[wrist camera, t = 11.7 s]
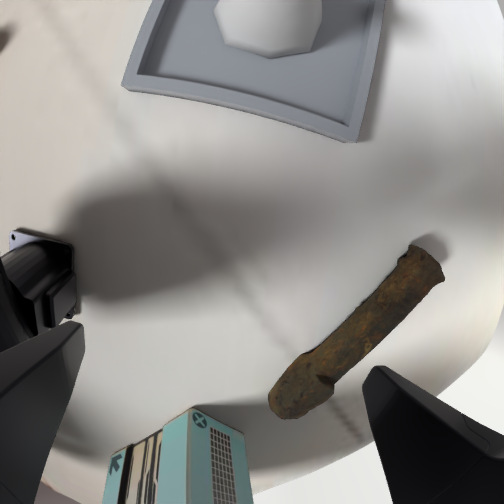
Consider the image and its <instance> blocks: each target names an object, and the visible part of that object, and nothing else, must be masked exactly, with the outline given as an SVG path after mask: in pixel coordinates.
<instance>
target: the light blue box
mask: <svg viewBox="0 0 504 504" xmlns="http://www.w3.org/2000/svg"><path fill="white" fill-rule="evenodd" d="M102 504H254V503H253V497H252V490H251V483H250V476H249V470H248V463H247V456H246V449H245V441H244V434H242V433H240V432H238V431H236V430H234V429H232V428H230V427H228V426H226V425H224V424H222V423H220V422H218V421H216V420H214V419H213V418H211V417H209V416H207V415H205V414H203V413H202V412H200V411H198V410H196V409H194V408H191V409H189V410H187V411H186V412H184V413H182V414H181V415H179V416H178V417H176V418H175V419H173V420H171V421H170V422H168V423H167V424H165V425H164V426H163V428H162V429H160V430H158V431H157V432H155V433H153V434H152V435H150V436H148V437H147V438H145V439H143V440H141V441H140V442H138V443H136V444H134V445H133V446H128V447H126V448H124V449H122V450H120V451H118V452H117V453H115V454H113V455H112V456H111V459H110V464H109V469H108V474H107V479H106V484H105V489H104V495H103V501H102Z"/></svg>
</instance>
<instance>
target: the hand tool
mask: <svg viewBox="0 0 504 504" xmlns="http://www.w3.org/2000/svg"><path fill="white" fill-rule="evenodd" d="M441 269H442V268H441V266H440V264H439V263H438V262H437V261H436V260H435V259H434V258H433V257H432V256H431V255H430V254H428V253H427V252H426V251H425V250H423V249H422V248H419V247H417V246H414V245H409V249H408V253H407V255H406V257H402V258H400V259H398V260H397V267H396V269H395V270H394V271H393V272H392V273H391V274H390V276H389V277H388V278H387V279H386V280H385V281H384V282H383V283H382V284H381V285H380V287H379V288H378V289H377V290H376V291H375V292H374V293H373V294H372V295H371V297H370V298H369V299H368V300H367V301H366V302H365V303H364V304H363V305H361V306H359V307H357V308H356V310H355V312H354V313H353V314H352V315H351V316H350V317H349V318H348V319H347V320H346V321H345V322H343V324H342V325H341V326H340V327H339V328H338V329H337V330H336V331H335V332H334V333H333V334H332V335H330V336H329V337H328V338H327V339H326V340H325V341H324V342H323V343H322V344H321V345H320V346H318V347H317V348H316V349H315V350H314V351H313V352H312V353H303V354H301V355H300V356H299V357H298V358H297V359H296V360H295V361H294V362H293V363H292V364H291V365H290V366H289V367H288V368H287V370H286V371H285V372H284V373H283V375H282V376H281V377H280V378H279V380H278V381H277V382H276V384H275V385H274V387H273V388H272V390H271V391H270V392H269V394H268V401H269V405H270V408H271V410H272V411H273V412H274V413H275V414H276V415H277V416H278V417H279V418H281V419H298V418H299V417H301V416H303V415H305V414H306V413H307V412H308V411H309V410H311V409H313V408H315V407H316V406H318V405H320V404H322V403H324V402H325V401H326V400H327V399H329V398H330V397H331V396H332V395H333V394H334V384H335V383H336V382H337V381H338V380H339V379H341V378H342V376H343V375H345V374H346V373H347V372H348V371H349V370H350V369H351V368H353V367H354V366H355V365H356V364H357V363H358V362H359V361H361V360H362V359H363V358H364V357H365V356H366V355H367V354H368V353H369V352H371V351H372V350H373V349H374V348H375V347H376V346H377V345H378V344H379V343H380V342H381V341H382V340H383V339H384V338H385V337H386V336H388V334H389V333H390V332H391V331H392V330H393V329H394V328H395V327H396V326H397V325H398V324H399V323H401V322H402V321H403V320H404V319H405V317H406V316H407V315H408V314H409V313H410V312H411V311H412V310H413V309H414V308H415V307H416V305H417V304H418V303H420V302H421V300H422V299H423V298H424V297H425V296H426V295H428V293H429V292H430V290H431V289H432V288H433V287H434V286H435V285H437V284H438V283H441V282H444V281H445V277H444V274H443V272H442V270H441Z"/></svg>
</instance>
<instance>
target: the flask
mask: <svg viewBox="0 0 504 504" xmlns="http://www.w3.org/2000/svg"><path fill="white" fill-rule="evenodd" d="M213 12H214V15H215V17H216V20H217V23H218V26H219V28H220V31H221V34H222V37H223V40H224V43H225V44H226V45H229V46H232V47H235V48H239V49H242V50H245V51H248V52H251V53H254V54H257V55H259V56H262V57H265V58H268V59H269V58H274V57H280V56H285V55H291V54H298V53H304V52H310V50H311V47H312V45H313V42H314V40H315V37H316V35H317V32H318V30H319V27H320V25H321V23H322V0H219V1H218V3H217V5H216V6H215V8H214V10H213Z"/></svg>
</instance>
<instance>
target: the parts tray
mask: <svg viewBox="0 0 504 504" xmlns="http://www.w3.org/2000/svg"><path fill="white" fill-rule="evenodd" d="M218 1H219V0H153V1H152V3H151V5H150V7H149V10H148V12H147V14H146V17H145V19H144V21H143V24H142V26H141V29H140V31H139V34H138V36H137V39H136V42H135V44H134V47H133V50H132V53H131V55H130V58H129V61H128V64H127V67H126V70H125V73H124V77H123V80H122V83H121V86H123V87H124V88H126V89H127V90H129V91H133V92H141V93H149V94H156V95H163V96H170V97H176V98H182V99H187V100H193V101H198V102H203V103H208V104H213V105H217V106H222V107H226V108H231V109H235V110H239V111H243V112H247V113H251V114H255V115H259V116H262V117H266V118H270V119H273V120H277V121H280V122H283V123H287V124H290V125H293V126H297V127H300V128H303V129H306V130H309V131H312V132H315V133H318V134H321V135H324V136H326V137H329V138H332V139H335V140H338V141H340V142H343V143H357V140H358V136H359V132H360V128H361V124H362V119H363V115H364V111H365V107H366V102H367V98H368V93H369V89H370V84H371V80H372V75H373V70H374V65H375V60H376V54H377V49H378V44H379V38H380V32H381V26H382V20H383V13H384V6H385V0H322V23H321V25H320V27H319V30H318V32H317V35H316V37H315V40H314V42H313V45H312V47H311V50H310V52H304V53H298V54H291V55H285V56H280V57H274V58H269V59H268V58H265V57H262V56H259V55H257V54H254V53H251V52H248V51H245V50H242V49H239V48H235V47H232V46H229V45H226V44H225V43H224V40H223V37H222V34H221V31H220V28H219V26H218V23H217V20H216V17H215V15H214V12H213V10H214V8H215V6H216V5H217V3H218Z"/></svg>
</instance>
